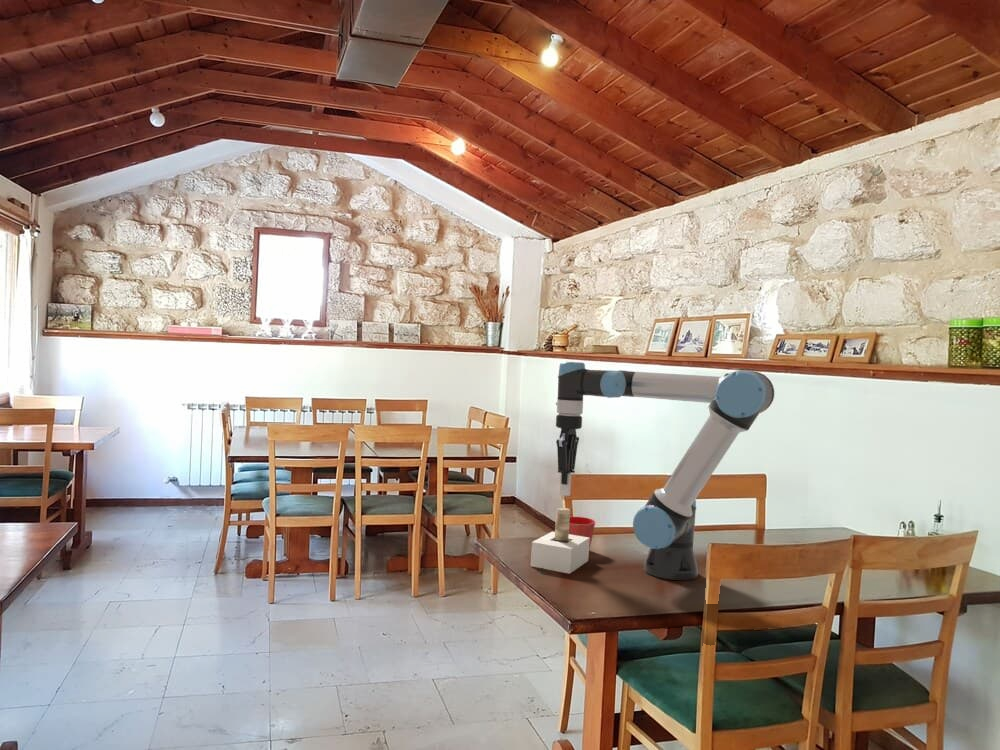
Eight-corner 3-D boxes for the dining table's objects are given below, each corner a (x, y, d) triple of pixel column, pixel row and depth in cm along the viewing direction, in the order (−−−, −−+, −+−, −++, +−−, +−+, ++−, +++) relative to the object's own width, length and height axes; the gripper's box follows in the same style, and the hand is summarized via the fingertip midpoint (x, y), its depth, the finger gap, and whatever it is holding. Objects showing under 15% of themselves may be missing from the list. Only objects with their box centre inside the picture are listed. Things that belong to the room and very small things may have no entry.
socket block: (588, 560, 224) (589, 537, 224) (569, 573, 210) (571, 548, 209) (551, 554, 229) (552, 531, 229) (530, 566, 215) (531, 542, 215)
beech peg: (569, 556, 220) (572, 509, 220) (564, 559, 217) (567, 511, 216) (556, 553, 222) (559, 507, 222) (551, 557, 218) (554, 509, 218)
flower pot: (555, 552, 232) (557, 521, 231) (564, 544, 242) (565, 514, 242) (589, 557, 228) (591, 525, 228) (596, 548, 239) (598, 518, 238)
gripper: (565, 412, 226) (561, 490, 226) (549, 414, 214) (544, 496, 214) (588, 414, 222) (584, 493, 223) (573, 416, 211) (569, 500, 211)
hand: (565, 494), depth 219 cm, fingers closed
